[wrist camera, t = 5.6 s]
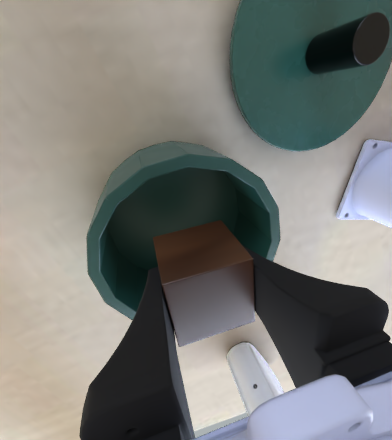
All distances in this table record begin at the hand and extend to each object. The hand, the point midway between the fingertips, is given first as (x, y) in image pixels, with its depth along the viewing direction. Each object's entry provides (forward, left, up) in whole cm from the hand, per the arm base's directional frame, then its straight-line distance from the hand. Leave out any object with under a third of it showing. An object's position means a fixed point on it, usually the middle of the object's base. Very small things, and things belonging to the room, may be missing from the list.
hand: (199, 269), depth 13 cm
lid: (-9, -13, -7) cm, 17 cm away
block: (0, 0, -1) cm, 1 cm away
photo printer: (-12, +22, -8) cm, 26 cm away
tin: (0, 0, -7) cm, 7 cm away
